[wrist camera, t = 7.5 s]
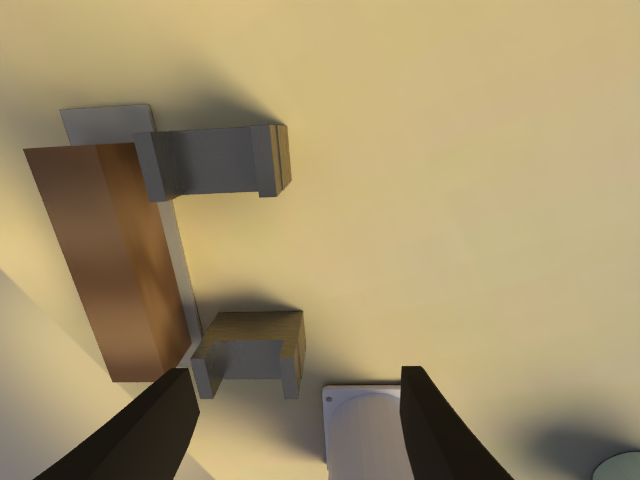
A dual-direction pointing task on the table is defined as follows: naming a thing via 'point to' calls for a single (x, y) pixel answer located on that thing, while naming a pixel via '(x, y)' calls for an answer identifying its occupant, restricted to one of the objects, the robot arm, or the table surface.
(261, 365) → the post
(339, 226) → the table surface
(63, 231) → the rail
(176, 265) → the mat
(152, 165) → the post
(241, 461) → the table surface
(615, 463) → the cup
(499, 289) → the table surface
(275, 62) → the table surface
